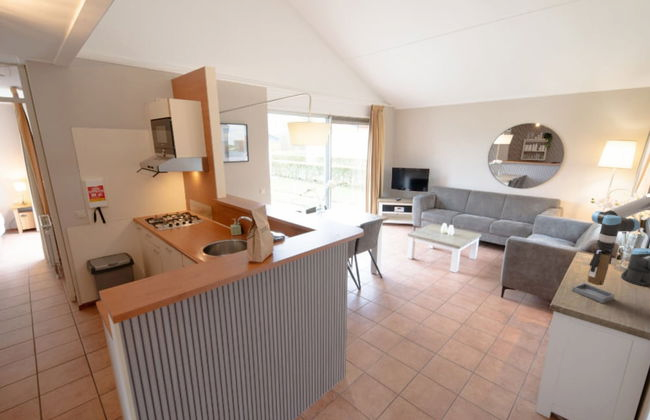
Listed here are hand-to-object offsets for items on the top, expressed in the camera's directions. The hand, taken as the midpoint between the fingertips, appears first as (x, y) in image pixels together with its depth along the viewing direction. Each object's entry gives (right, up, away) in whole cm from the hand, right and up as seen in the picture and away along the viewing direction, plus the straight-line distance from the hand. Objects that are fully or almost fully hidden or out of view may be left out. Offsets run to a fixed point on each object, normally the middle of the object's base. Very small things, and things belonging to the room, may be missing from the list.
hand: (597, 274), depth 180 cm
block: (0, -5, +1) cm, 5 cm away
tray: (0, -13, +4) cm, 14 cm away
